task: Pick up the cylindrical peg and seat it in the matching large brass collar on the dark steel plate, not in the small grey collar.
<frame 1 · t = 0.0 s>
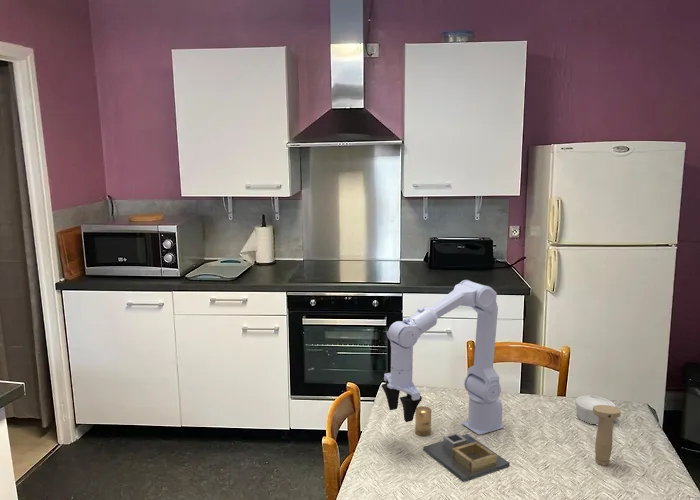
hand: (400, 414, 152), 10 cm above the table, tool pointing down, fingers open, 7 cm apart
handle: (602, 463, 148), on the table
fitting plate: (465, 457, 150), on the table
ramekin: (594, 419, 172), on the table
cylindrical peg: (422, 432, 164), on the table
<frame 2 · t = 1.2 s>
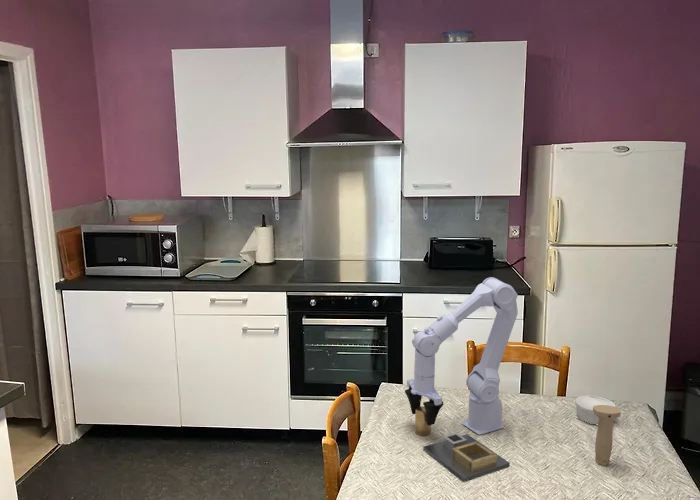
hand: (423, 418, 163), 4 cm above the table, tool pointing down, fingers open, 7 cm apart
nothing on the table moved.
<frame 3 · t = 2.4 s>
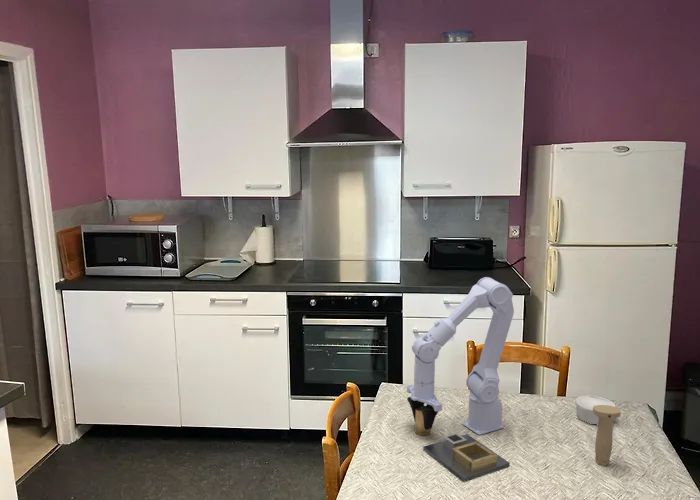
hand: (423, 424, 163), 2 cm above the table, tool pointing down, fingers closed on cylindrical peg, 4 cm apart
cylindrical peg: (422, 432, 164), on the table, touching gripper
everything else where it was.
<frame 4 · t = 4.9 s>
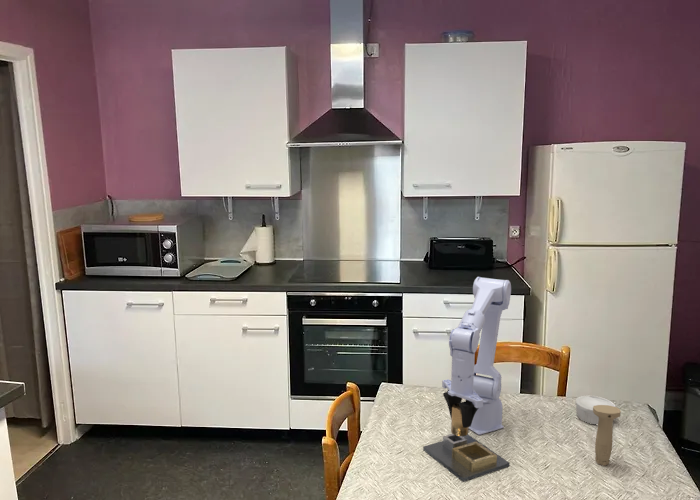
hand: (460, 422, 150), 9 cm above the table, tool pointing down, fingers closed on cylindrical peg, 4 cm apart
cylindrical peg: (459, 431, 150), point 7 cm above the table, touching gripper
everything else where it was.
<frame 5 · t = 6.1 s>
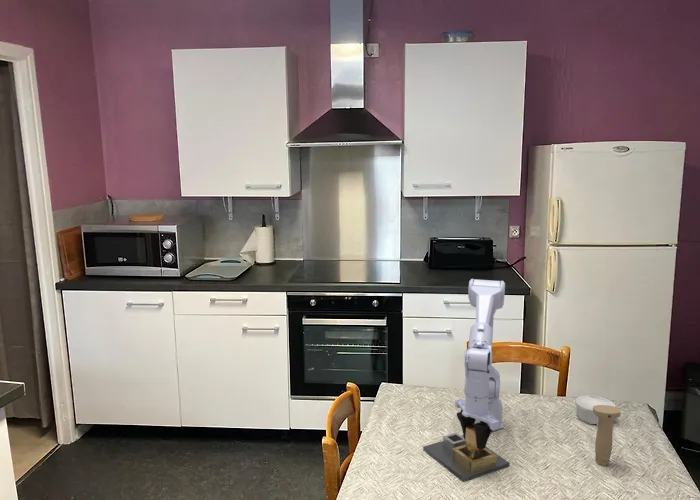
hand: (474, 443, 146), 6 cm above the table, tool pointing down, fingers closed on cylindrical peg, 4 cm apart
cylindrical peg: (473, 453, 146), point 3 cm above the table, touching gripper
everything else where it was.
when the fingers open (4 cm above the table, at t = 7.2 s): cylindrical peg stays where it is, resting on fitting plate.
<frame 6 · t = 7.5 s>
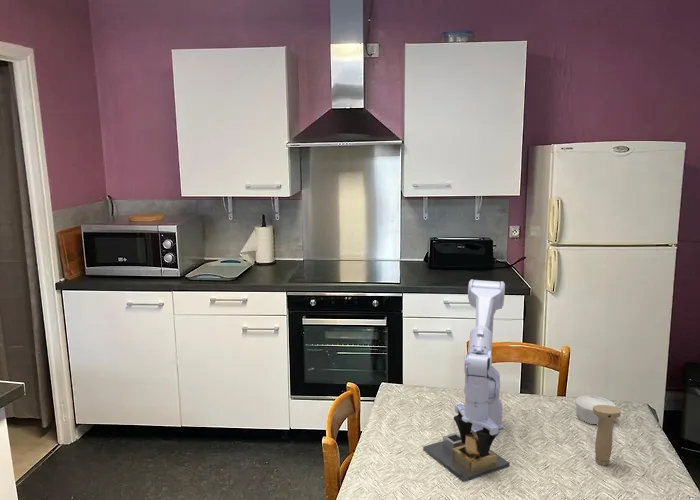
hand: (474, 448, 146), 4 cm above the table, tool pointing down, fingers open, 7 cm apart
cylindrical peg: (473, 461, 147), point 1 cm above the table, touching fitting plate
everything else where it was.
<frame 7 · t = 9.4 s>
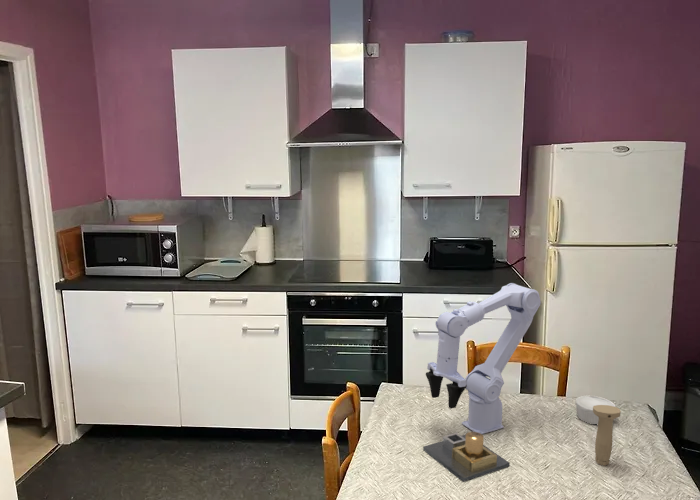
hand: (443, 402, 159), 10 cm above the table, tool pointing down, fingers open, 7 cm apart
nothing on the table moved.
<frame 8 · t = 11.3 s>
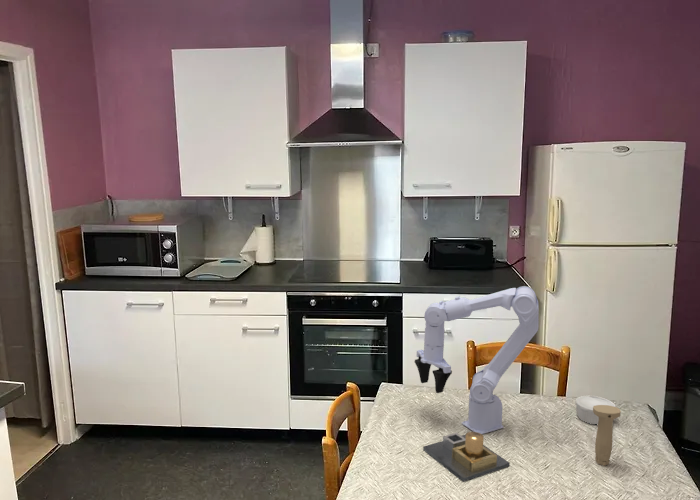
hand: (431, 387, 170), 10 cm above the table, tool pointing down, fingers open, 7 cm apart
nothing on the table moved.
at the end: cylindrical peg 0.2 cm from the target spot on the fitting plate, point 1.0 cm above the fitting plate's base; cylindrical peg tilted 0°; the gripper is holding nothing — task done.
